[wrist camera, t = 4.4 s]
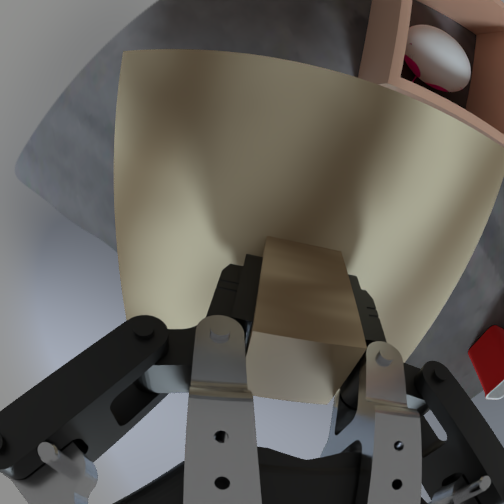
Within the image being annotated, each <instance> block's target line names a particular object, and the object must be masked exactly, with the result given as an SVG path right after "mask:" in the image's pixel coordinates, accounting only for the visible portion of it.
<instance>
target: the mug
mask: <svg viewBox="0 0 504 504" xmlns="http://www.w3.org/2000/svg"><path fill="white" fill-rule="evenodd" d="M468 355H469V357H470V359H471V361H472V363H473V366H474V368H475V370H476V373H477V375H478V377H479V380H480V382H481V384H482V387H483V389H484V392H485V398H486V399H494V400H498V399H501V398H502V397H504V329H502V328H501V327H499V326H497V325H493V326H491V327H490V328H489V329H488V330H487V331H486V332H485V333H484V334H483V335H482V336H481V337H480V338H479V339H478V341H477V342H476V343H475V344H474V345H473V346H472V347H471V348H470V349H469V351H468Z"/></svg>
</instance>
